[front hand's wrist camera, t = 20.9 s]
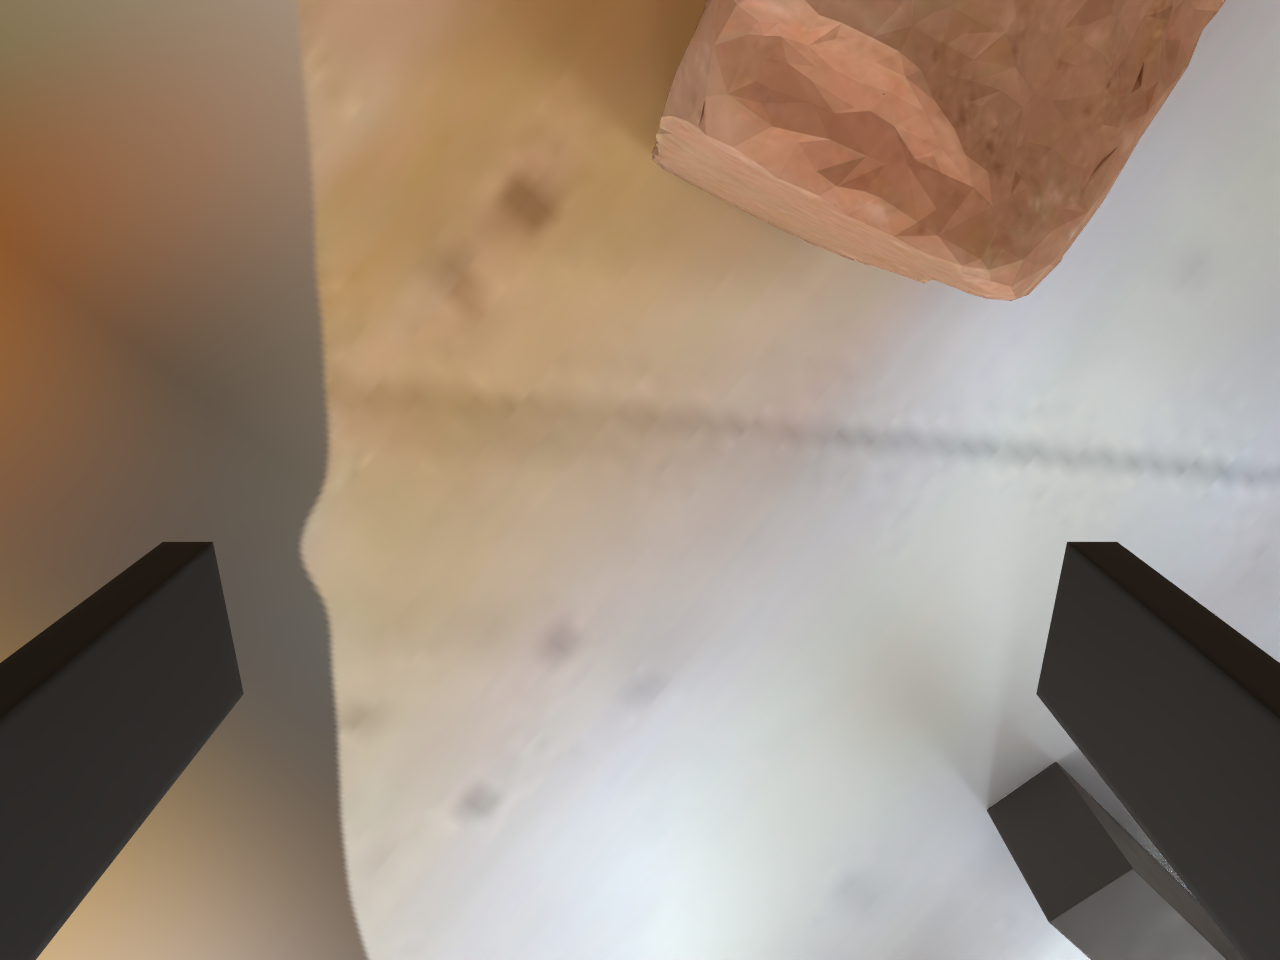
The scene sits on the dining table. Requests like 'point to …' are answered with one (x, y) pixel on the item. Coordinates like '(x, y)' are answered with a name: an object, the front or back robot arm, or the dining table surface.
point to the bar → (1101, 878)
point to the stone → (925, 123)
